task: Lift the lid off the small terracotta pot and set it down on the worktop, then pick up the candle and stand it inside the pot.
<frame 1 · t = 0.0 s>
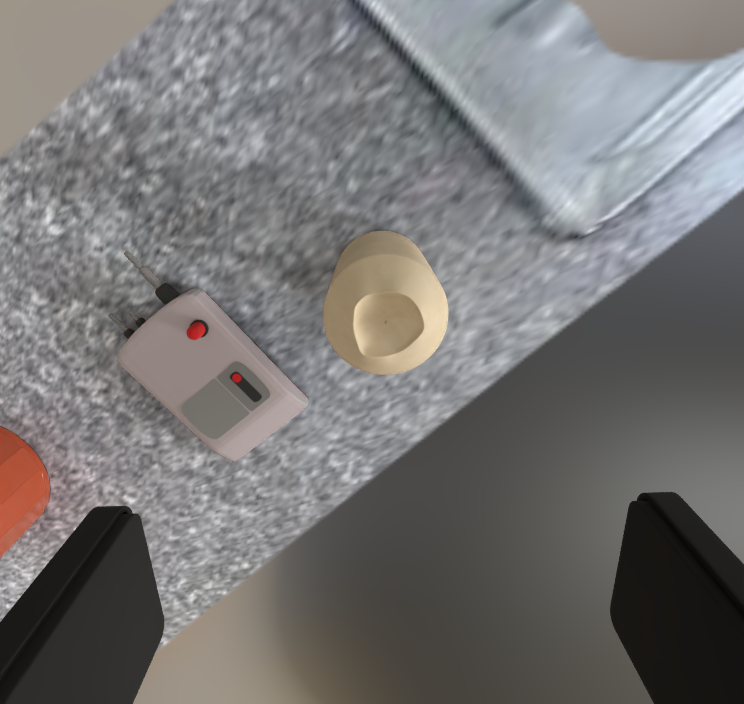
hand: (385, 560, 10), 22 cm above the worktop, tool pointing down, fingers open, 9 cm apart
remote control: (208, 362, 32), on the worktop
candle: (381, 275, 30), on the worktop
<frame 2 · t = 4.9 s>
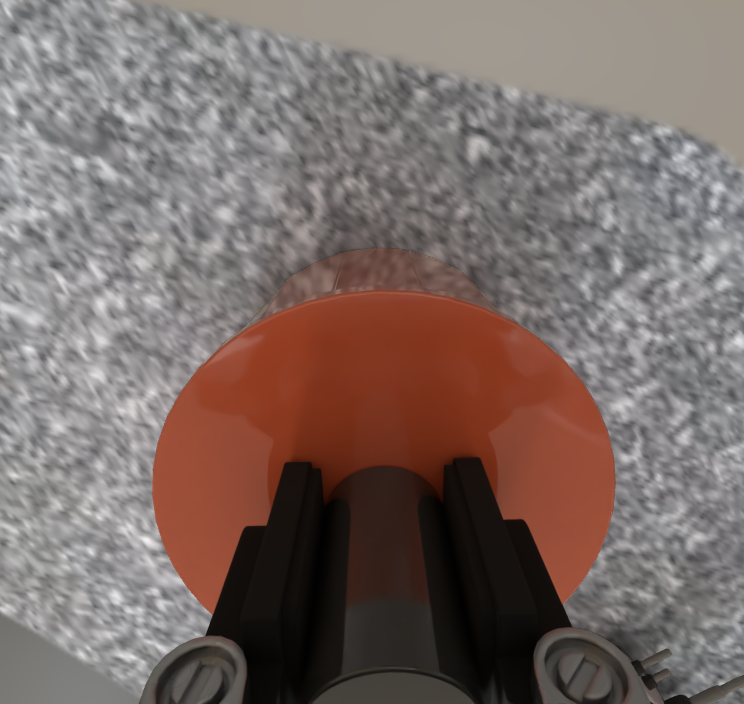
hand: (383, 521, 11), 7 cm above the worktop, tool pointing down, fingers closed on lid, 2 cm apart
pot: (378, 383, 17), on the worktop
lid: (383, 500, 11), point 7 cm above the worktop, touching gripper, pot
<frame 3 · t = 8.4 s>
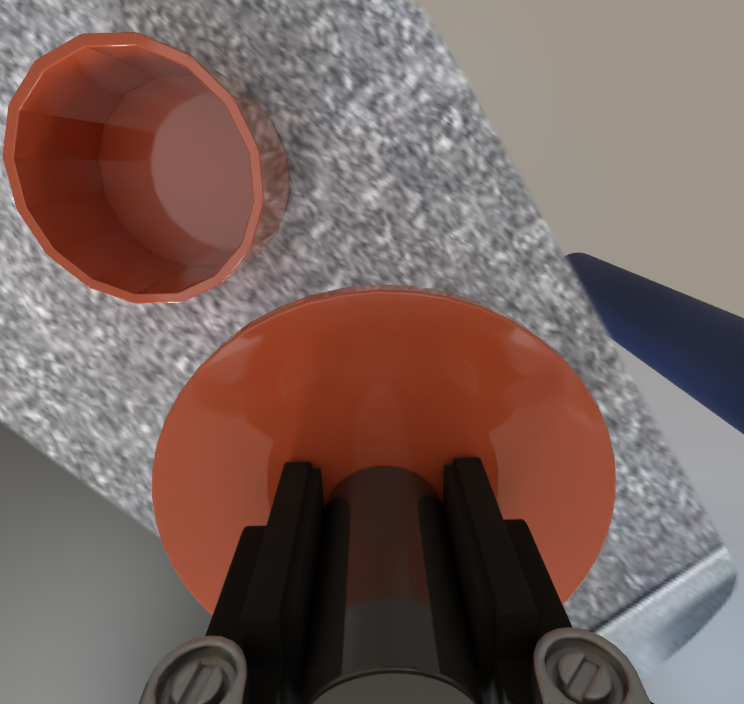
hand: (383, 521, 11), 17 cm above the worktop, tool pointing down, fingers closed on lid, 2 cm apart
pot: (194, 176, 25), on the worktop
lid: (383, 501, 11), point 17 cm above the worktop, touching gripper
when the fingers open (1 cm above the worktop, at t = 12.1 s): lid stays where it is, point 1 cm above the worktop.
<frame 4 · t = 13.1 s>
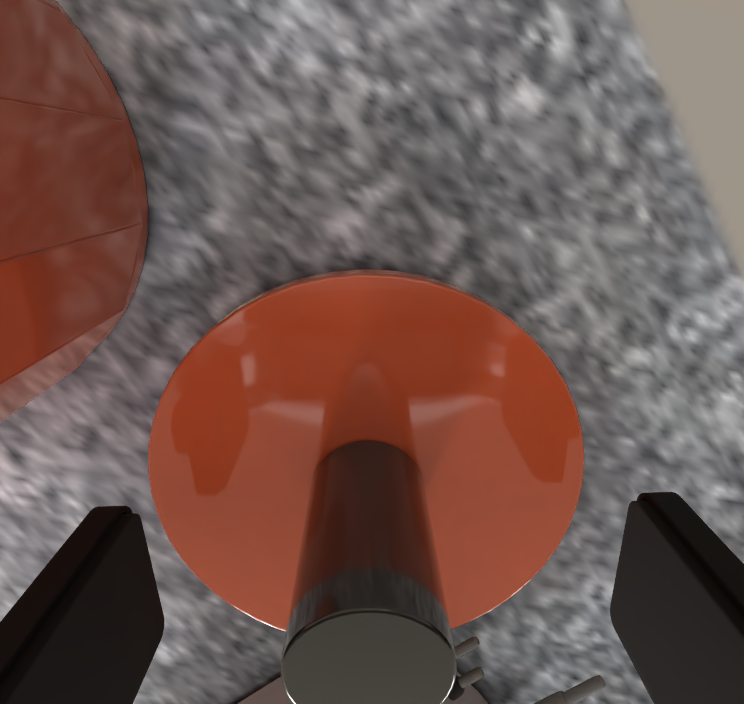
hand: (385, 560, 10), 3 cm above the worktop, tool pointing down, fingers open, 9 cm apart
lid: (367, 475, 12), point 1 cm above the worktop
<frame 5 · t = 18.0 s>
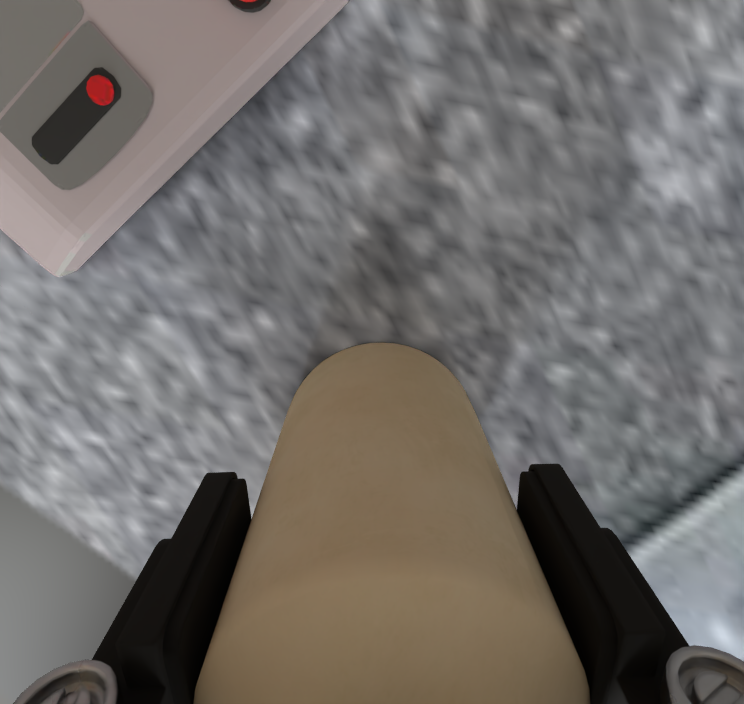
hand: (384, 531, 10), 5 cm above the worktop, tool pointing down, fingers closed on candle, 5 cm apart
candle: (380, 422, 15), on the worktop, touching gripper
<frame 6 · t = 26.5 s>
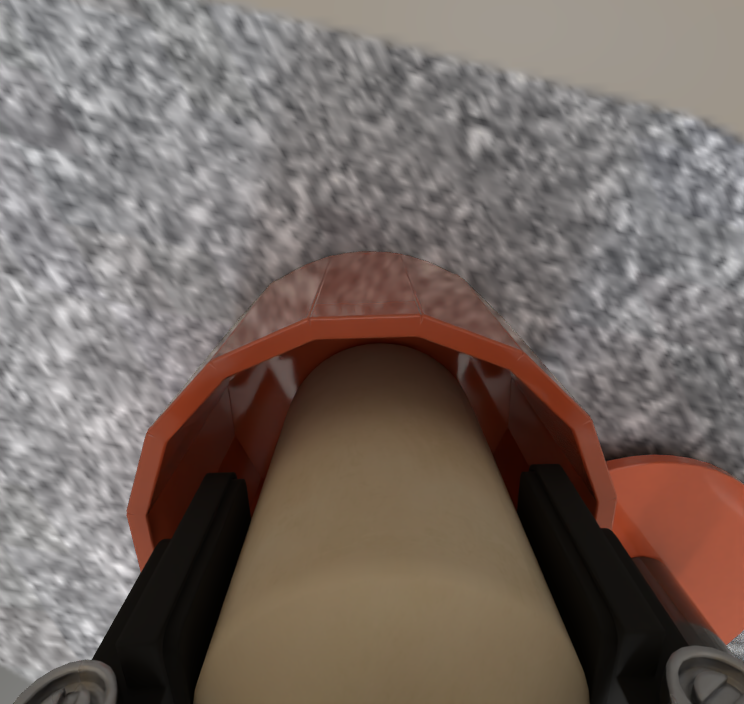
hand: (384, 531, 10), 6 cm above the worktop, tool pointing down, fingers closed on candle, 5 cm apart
pot: (370, 399, 16), on the worktop
candle: (379, 423, 15), point 1 cm above the worktop, touching gripper
lid: (626, 574, 18), point 1 cm above the worktop
when the fingers open (6 cm above the worktop, at t = 31.9 s): candle stays where it is, resting on pot.
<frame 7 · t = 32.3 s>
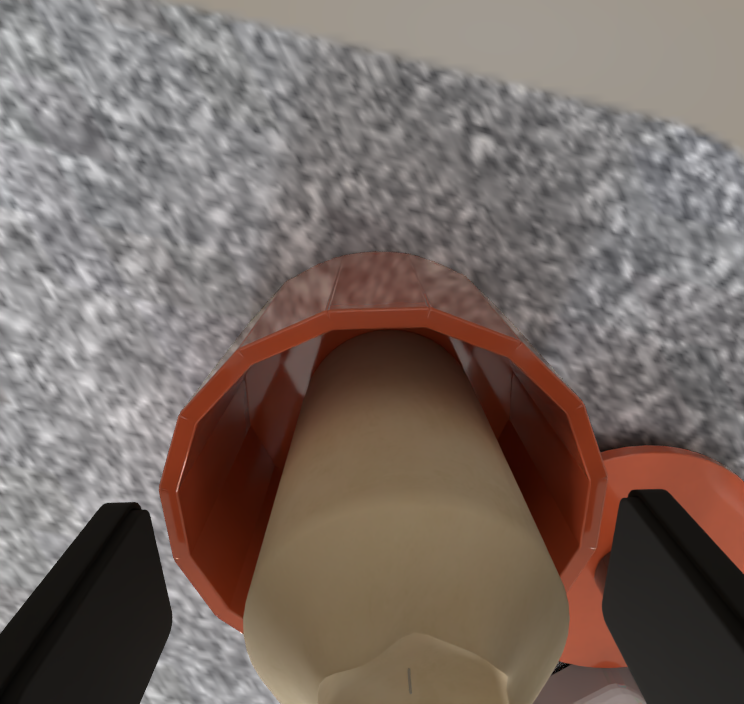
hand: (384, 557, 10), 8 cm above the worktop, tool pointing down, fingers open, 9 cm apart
pot: (378, 391, 17), on the worktop
candle: (388, 404, 17), resting on pot
lid: (623, 560, 19), point 1 cm above the worktop
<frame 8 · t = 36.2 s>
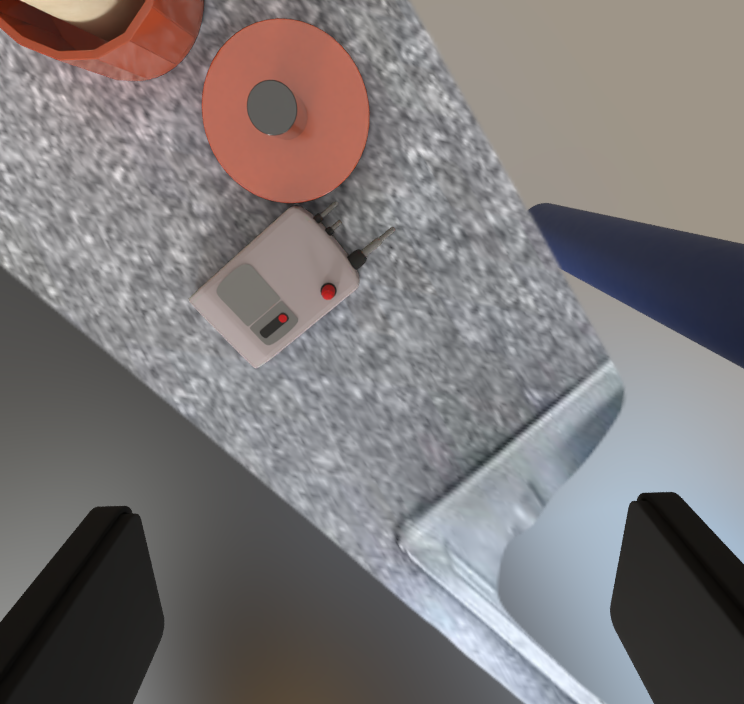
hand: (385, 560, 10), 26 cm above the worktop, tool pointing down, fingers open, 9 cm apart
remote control: (288, 278, 34), on the worktop
lid: (287, 116, 30), point 1 cm above the worktop
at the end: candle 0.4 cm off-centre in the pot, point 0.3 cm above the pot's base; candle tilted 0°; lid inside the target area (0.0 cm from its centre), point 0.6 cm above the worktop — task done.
